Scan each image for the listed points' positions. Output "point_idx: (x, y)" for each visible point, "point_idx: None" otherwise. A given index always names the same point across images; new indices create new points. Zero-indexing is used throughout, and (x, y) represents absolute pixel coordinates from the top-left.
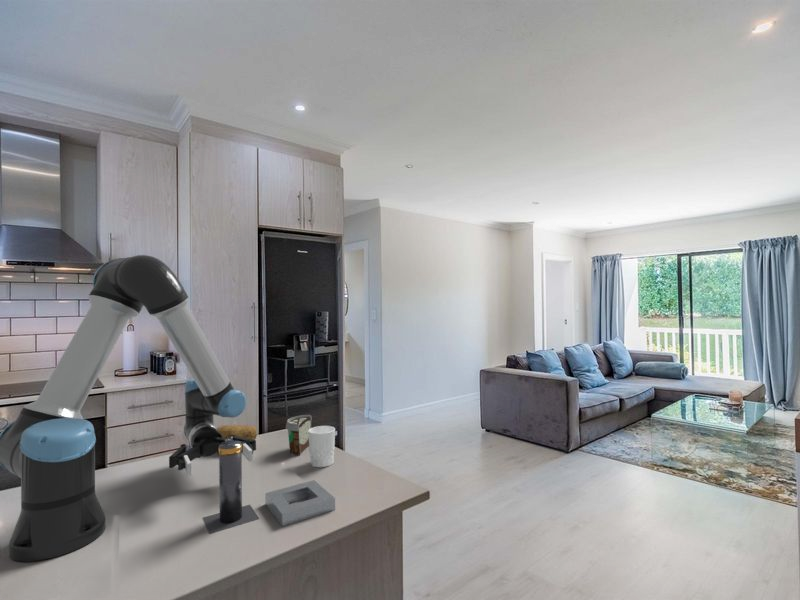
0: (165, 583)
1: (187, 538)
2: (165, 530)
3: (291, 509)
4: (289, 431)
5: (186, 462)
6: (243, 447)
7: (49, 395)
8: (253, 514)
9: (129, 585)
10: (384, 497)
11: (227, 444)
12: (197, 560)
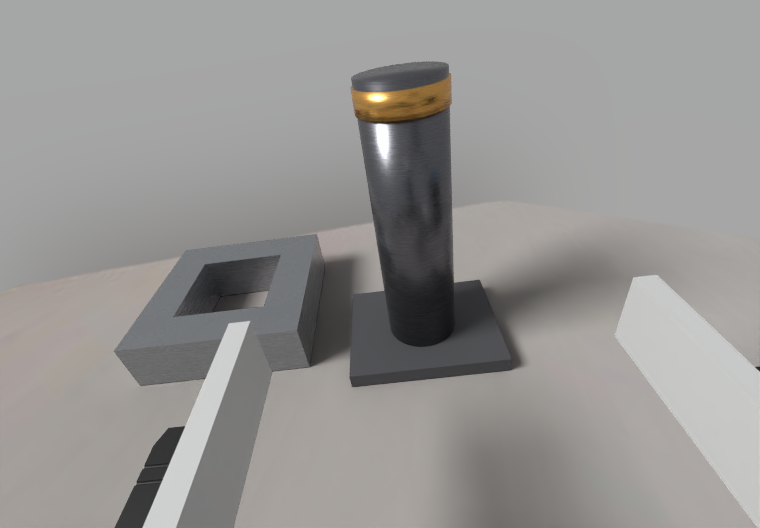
0: (539, 216)
1: (538, 309)
2: (635, 373)
3: (290, 242)
4: None
5: (688, 310)
6: (198, 515)
7: None
8: (359, 317)
9: (606, 224)
10: (68, 298)
11: (412, 69)
12: (495, 243)
